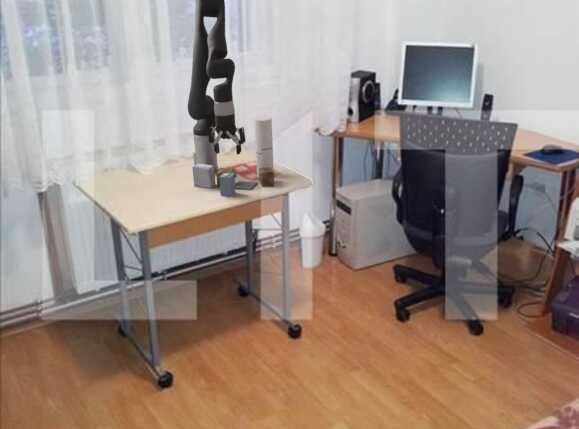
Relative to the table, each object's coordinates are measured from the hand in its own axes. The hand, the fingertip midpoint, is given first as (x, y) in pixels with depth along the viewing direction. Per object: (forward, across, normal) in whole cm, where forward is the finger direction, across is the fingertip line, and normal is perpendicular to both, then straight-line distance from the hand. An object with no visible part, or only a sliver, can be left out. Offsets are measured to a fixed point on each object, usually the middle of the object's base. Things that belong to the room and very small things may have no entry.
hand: (228, 153), depth 250 cm
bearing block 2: (+17, +10, +14) cm, 24 cm away
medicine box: (+17, -14, +6) cm, 23 cm away
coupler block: (+17, -1, -1) cm, 17 cm away
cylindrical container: (+17, +7, +23) cm, 30 cm away
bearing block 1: (+16, -6, +9) cm, 20 cm away
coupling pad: (+17, +2, +9) cm, 19 cm away
